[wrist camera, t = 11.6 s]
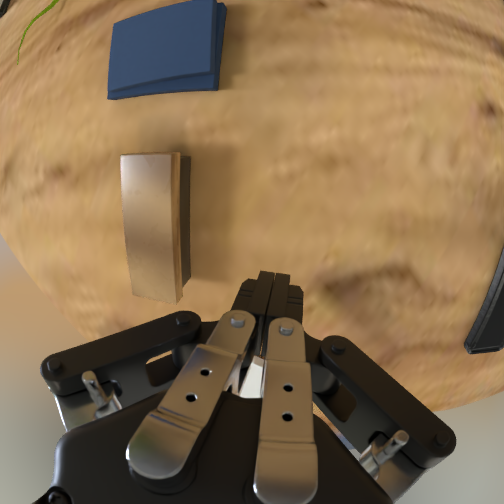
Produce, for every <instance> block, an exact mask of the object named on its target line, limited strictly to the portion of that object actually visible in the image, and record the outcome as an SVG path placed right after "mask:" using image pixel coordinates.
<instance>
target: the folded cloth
mask: <svg viewBox="0 0 504 504" xmlns="http://www.w3.org/2000/svg"><path fill="white" fill-rule="evenodd" d="M226 11H227V8H226V6H225V5H224V3H223V2H222V3H217V1H216V0H191V1H186V2H182V3H178V4H173V5H170V6H166V7H162V8H158V9H155V10H152V11H148V12H145V13H142V14H139V15H136V16H133V17H130V18H127V19H125V20H122V21H119V22H117V23H114V26H113V32H112V40H111V49H110V59H109V72H108V96H107V99H109V100H118V99H124V98H131V97H138V96H145V95H154V94H163V93H175V92H190V91H217V90H218V83H219V72H220V62H221V53H222V43H223V35H224V26H225V18H226Z"/></svg>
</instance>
